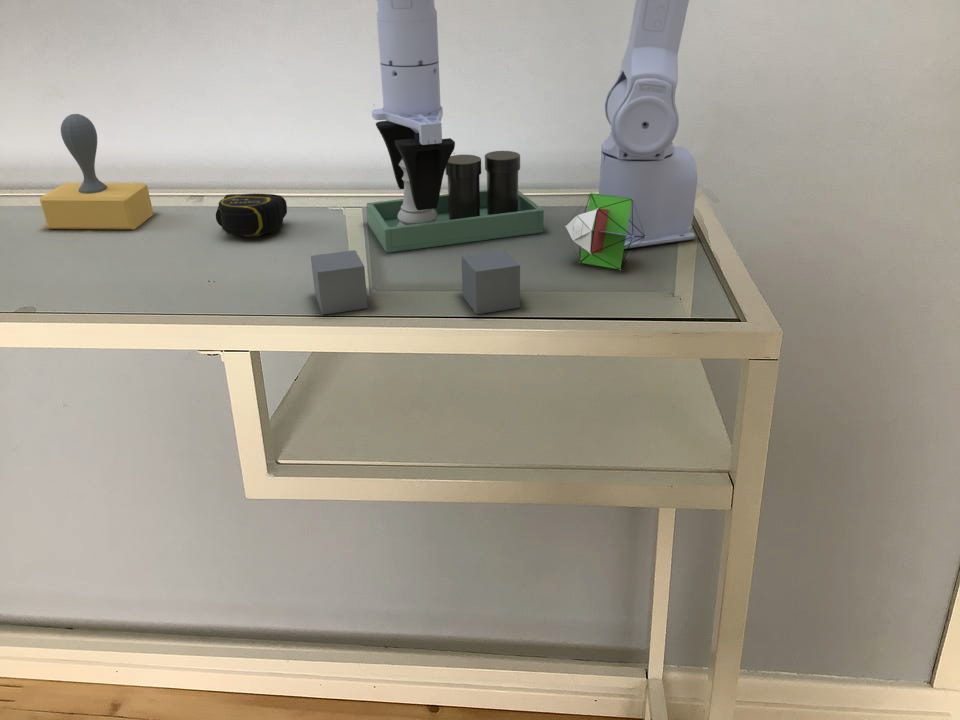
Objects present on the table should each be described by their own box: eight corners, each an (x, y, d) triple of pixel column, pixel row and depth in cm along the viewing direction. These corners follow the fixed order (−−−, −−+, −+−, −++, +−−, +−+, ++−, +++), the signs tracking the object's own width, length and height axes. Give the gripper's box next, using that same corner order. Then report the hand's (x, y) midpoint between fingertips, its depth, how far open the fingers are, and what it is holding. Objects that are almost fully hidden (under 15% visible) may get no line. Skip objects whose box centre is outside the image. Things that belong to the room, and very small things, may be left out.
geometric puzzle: (591, 217, 84) (574, 171, 77) (656, 226, 81) (645, 179, 74) (569, 277, 82) (550, 236, 75) (635, 289, 79) (621, 247, 72)
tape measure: (291, 221, 92) (286, 189, 90) (276, 242, 86) (271, 208, 84) (231, 221, 92) (225, 189, 90) (212, 243, 86) (206, 208, 84)
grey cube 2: (504, 290, 74) (504, 249, 72) (519, 307, 71) (520, 265, 69) (462, 296, 73) (461, 254, 71) (476, 314, 70) (475, 271, 68)
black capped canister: (512, 210, 92) (512, 149, 89) (524, 221, 89) (525, 157, 85) (480, 214, 91) (480, 152, 88) (492, 225, 88) (491, 161, 84)
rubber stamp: (46, 229, 90) (14, 120, 84) (72, 213, 95) (44, 108, 89) (133, 230, 90) (107, 120, 84) (154, 213, 95) (131, 108, 89)
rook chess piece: (391, 234, 86) (386, 159, 82) (404, 220, 90) (400, 148, 86) (432, 237, 85) (428, 161, 81) (443, 223, 89) (440, 149, 85)
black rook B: (475, 215, 91) (474, 153, 87) (486, 226, 88) (485, 161, 84) (443, 219, 90) (440, 156, 86) (453, 230, 87) (450, 165, 83)
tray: (513, 207, 95) (513, 186, 94) (543, 232, 87) (543, 210, 86) (368, 224, 90) (366, 202, 89) (386, 253, 82) (384, 229, 81)
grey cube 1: (359, 290, 74) (355, 249, 72) (368, 308, 71) (364, 265, 69) (315, 297, 73) (310, 255, 71) (322, 315, 70) (317, 272, 68)
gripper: (355, 54, 84) (366, 182, 91) (385, 77, 72) (395, 223, 79) (421, 50, 86) (427, 176, 93) (461, 71, 74) (465, 215, 80)
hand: (417, 197), depth 86 cm, fingers open, 7 cm apart
